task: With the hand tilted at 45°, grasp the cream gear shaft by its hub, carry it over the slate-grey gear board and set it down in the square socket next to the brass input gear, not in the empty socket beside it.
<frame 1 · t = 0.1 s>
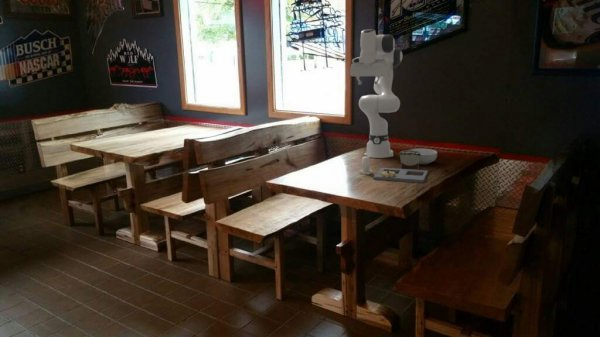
hand: (368, 84, 277), 48 cm above the table, tool pointing down, fingers open, 8 cm apart
food container: (409, 168, 283), on the table
gear shaft: (365, 172, 276), on the table
gear board: (401, 176, 267), on the table
cereal bowl: (422, 163, 295), on the table
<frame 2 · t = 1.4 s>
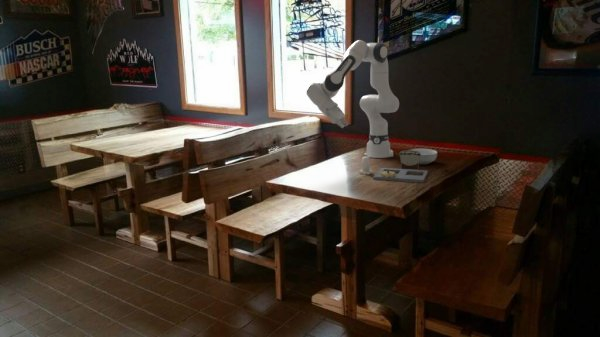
hand: (345, 126, 273), 26 cm above the table, tool tilted 45°, fingers open, 8 cm apart
nothing on the table moved.
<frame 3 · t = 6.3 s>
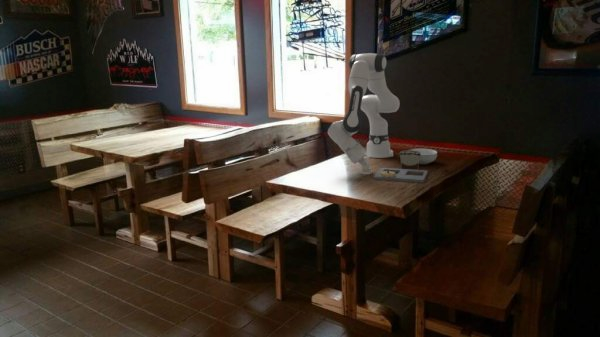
hand: (366, 164, 274), 5 cm above the table, tool tilted 45°, fingers closed on gear shaft, 4 cm apart
gear shaft: (365, 172, 276), on the table, touching gripper
everything else where it was.
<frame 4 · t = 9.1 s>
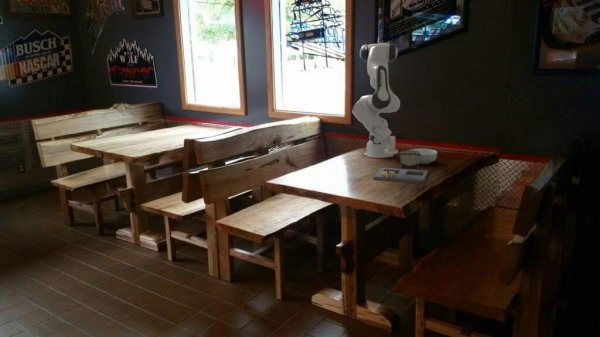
hand: (392, 144, 267), 17 cm above the table, tool tilted 45°, fingers closed on gear shaft, 4 cm apart
gear shaft: (391, 152, 268), point 12 cm above the table, touching gripper
everything else where it was.
when the fingers open (6 cm above the table, at t = 11.9 s): gear shaft stays where it is, resting in gear board.
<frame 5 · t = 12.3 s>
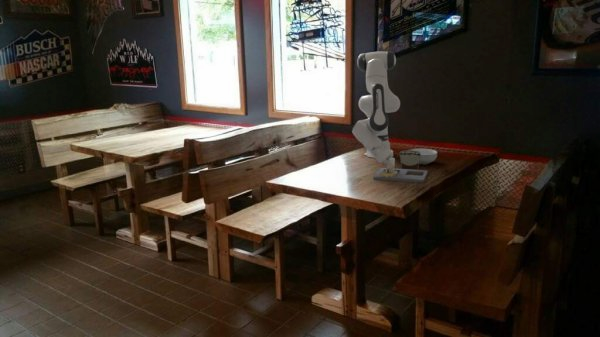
hand: (392, 164, 270), 6 cm above the table, tool tilted 45°, fingers open, 8 cm apart
gear shaft: (390, 174, 271), resting in gear board
everything else where it was.
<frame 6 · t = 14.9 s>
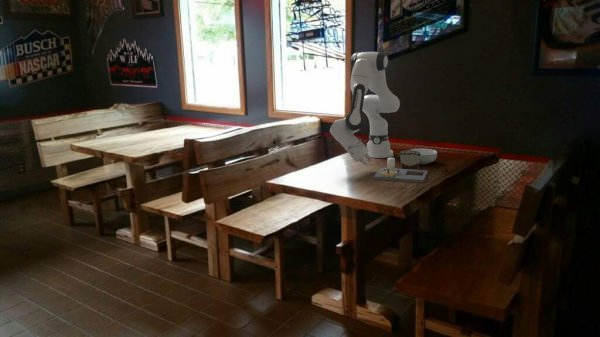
hand: (368, 162, 274), 6 cm above the table, tool tilted 45°, fingers open, 8 cm apart
nothing on the table moved.
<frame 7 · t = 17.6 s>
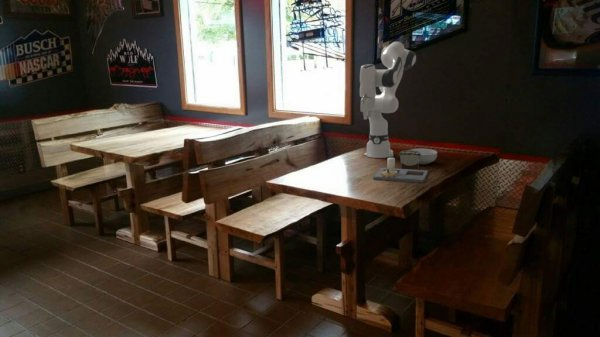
hand: (367, 118, 280), 29 cm above the table, tool pointing down, fingers open, 8 cm apart
nothing on the table moved.
at the end: gear shaft 0.1 cm from the target spot on the gear board, point 0.0 cm above the gear board's base; gear shaft tilted 0°; the gripper is holding nothing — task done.
